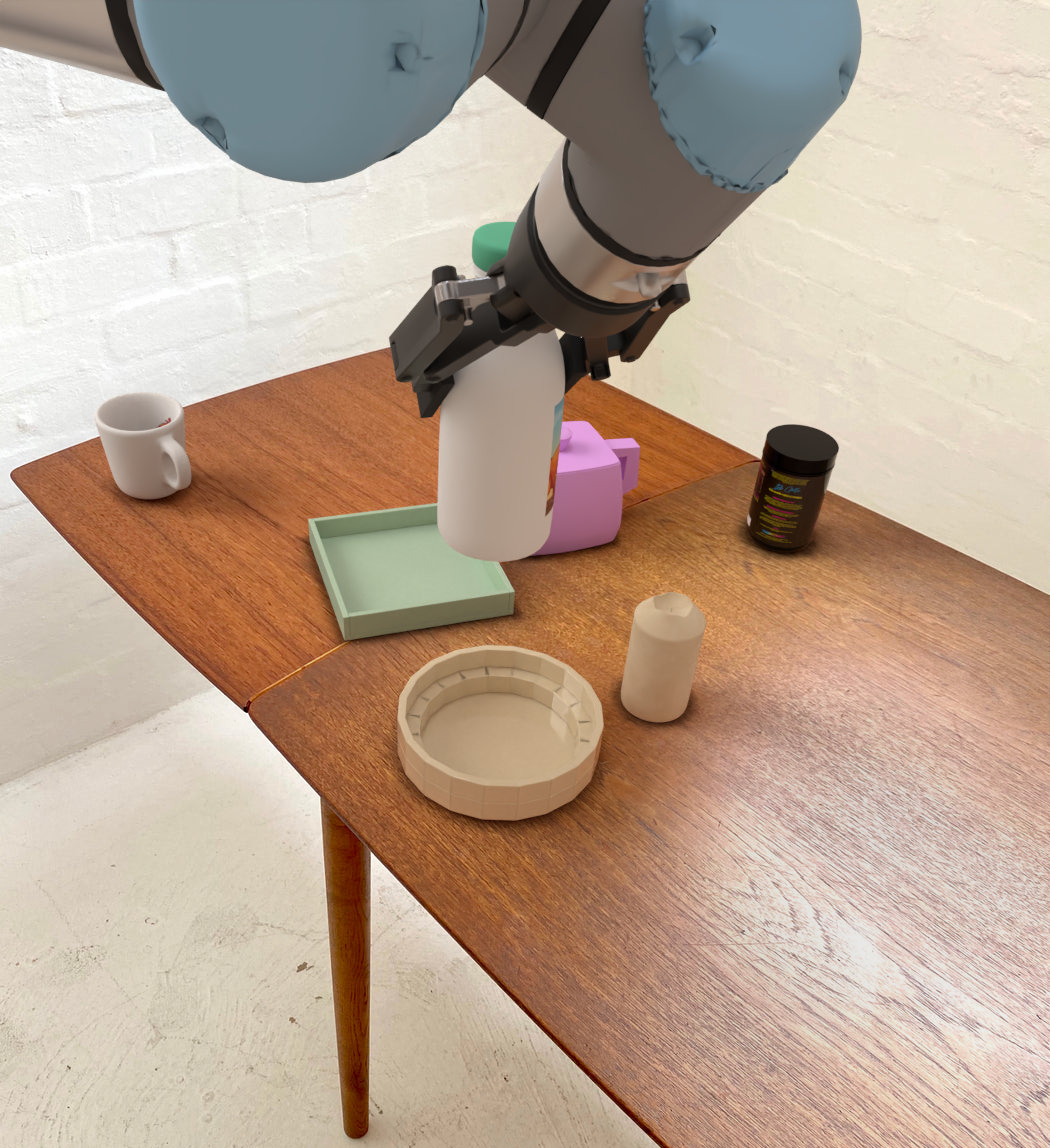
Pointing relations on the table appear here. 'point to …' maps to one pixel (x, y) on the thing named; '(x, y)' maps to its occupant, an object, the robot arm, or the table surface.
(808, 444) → the supplement container
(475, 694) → the bowl
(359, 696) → the table surface
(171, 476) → the cup
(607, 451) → the teapot
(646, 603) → the candle
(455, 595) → the tray
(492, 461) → the milk bottle
